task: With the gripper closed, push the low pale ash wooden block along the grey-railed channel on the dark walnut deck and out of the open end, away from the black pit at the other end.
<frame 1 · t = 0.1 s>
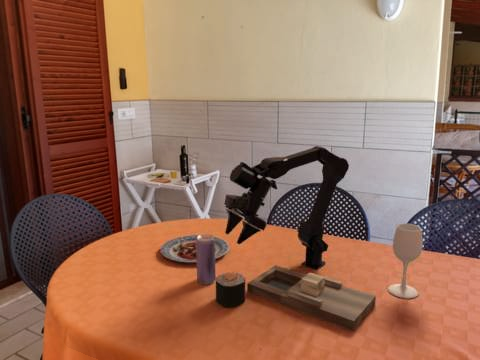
hand: (232, 238, 130), 15 cm above the table, tool tilted 30°, fingers open, 9 cm apart
beverage can: (206, 281, 135), on the table
deck: (309, 298, 123), on the table
ceramic plate: (195, 253, 157), on the table
sushi: (230, 301, 122), on the table
wineglass: (402, 292, 127), on the table
block: (312, 290, 122), point 3 cm above the table, touching deck
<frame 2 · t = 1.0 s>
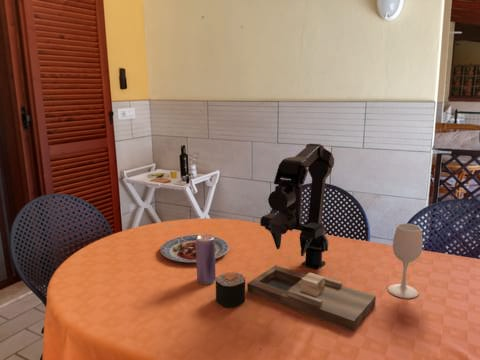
hand: (290, 252, 124), 13 cm above the table, tool pointing down, fingers open, 8 cm apart
nothing on the table moved.
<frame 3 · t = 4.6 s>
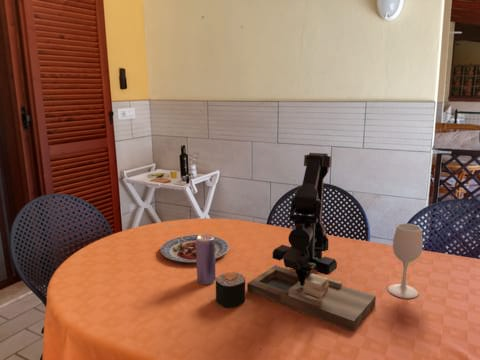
hand: (302, 285, 124), 4 cm above the table, tool pointing down, fingers closed
block: (316, 291, 121), point 3 cm above the table, touching gripper
everything else where it was.
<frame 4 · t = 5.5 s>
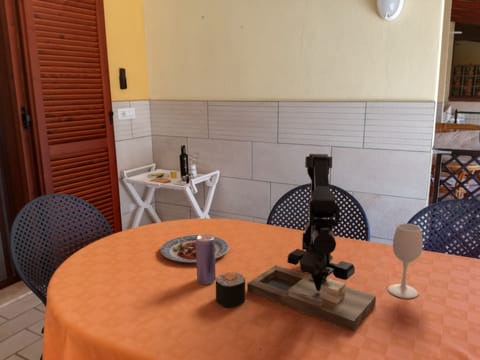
hand: (318, 290, 121), 4 cm above the table, tool pointing down, fingers closed
block: (332, 297, 118), point 3 cm above the table, touching gripper
everything else where it was.
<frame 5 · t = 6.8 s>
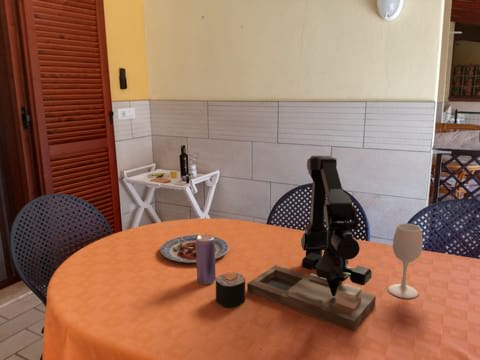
hand: (334, 295, 118), 4 cm above the table, tool pointing down, fingers closed
block: (348, 302, 115), point 3 cm above the table, touching deck, gripper
everything else where it was.
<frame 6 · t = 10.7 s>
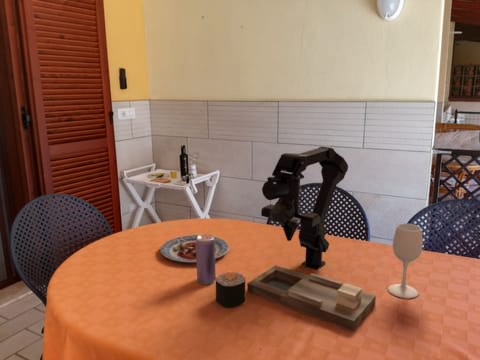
hand: (289, 240, 134), 13 cm above the table, tool pointing down, fingers closed
block: (349, 302, 115), point 3 cm above the table, touching deck
everything else where it was.
at the end: block inside the target area on the deck (0.2 cm from its centre), point 3.0 cm above the deck's base; block tilted 0° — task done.
